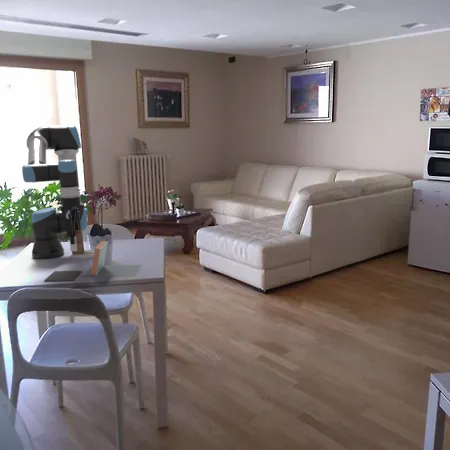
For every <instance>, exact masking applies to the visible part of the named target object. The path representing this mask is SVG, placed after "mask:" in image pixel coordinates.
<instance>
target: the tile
mask: <svg viewBox="0 0 450 450" xmlns="http://www.w3.org/2000/svg"><path fill="white" fill-rule="evenodd" d="M108 243H109V241H106V240H101V242H99V243H98V245H97V246H95V248H94V249H93V250H94V257H93V258H92V264H91V268H92V270H91V275H96V276H97V275H98V273H99V272H100V271H101V270H102V268H103V267H104V266H105V263H106V262H105V261H106V256H107V249H108Z"/></svg>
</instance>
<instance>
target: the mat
mask: <svg viewBox="0 0 450 450" xmlns="http://www.w3.org/2000/svg"><path fill="white" fill-rule="evenodd" d="M141 266H142V264H131V265H130V264H128V265H127V264H126V265H125V264H124V265H122V264H121V265H104V267H103V268H102V270H101V271H100V272H99V273H98V275H97V276H96V275H91V270H92V267H91V268H90V269H89V270H88V271H87V273H85V275H84V276H83V278H100V277H101V278H104V277H109V278H111V277H135V276H136V275H137V273H138V272H139V270H140V268H141Z"/></svg>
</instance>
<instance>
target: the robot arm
mask: <svg viewBox="0 0 450 450" xmlns="http://www.w3.org/2000/svg"><path fill="white" fill-rule="evenodd" d="M26 147H27V150H28V154H27V155H28V156H27V157H28V160H27V161H28V162H27V164H25V165H23V166H22V167H21V169H22V170H21V172H22V178H23V182H25V183H40V182H41V183H43V182H57V181H58V182H59V188H60V197H61V205H60V209H59V210H57V208H55V207H45V208H42V209H38V210H35V211H33V212H32V214H31V226H32V232H33V233H32V235H33V247H32V249H31V256H32V258H33V259H37V260H48V259H54V258H58V257H61V256H63V255H64V254H65V249H64V247H63V245H62V242H61V240H60V235H59V234H66V237H67V238H69V247H70V252H72V251H78V250H77V240H76V236H75V230H82V232H84V231H86V230H87V228H88V208H87V207H85V204H84V203H82V200H81V188H80V183H79V172H78V163H77V154H78V153H79V149H81V148H82V144H81V140H80V135H79V131H78V128H77V127H76V125H69V124H68V125H67V124H64V125H63V124H62V125H44V126H40V127H38V128H35V129H34V130H33V131H31V132H30V134H29V135H28V136H27V138H26ZM47 150H48V151H49V150H54V154H55V155H57V159H58V161H57V163H47Z"/></svg>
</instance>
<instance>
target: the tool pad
mask: <svg viewBox="0 0 450 450" xmlns="http://www.w3.org/2000/svg"><path fill="white" fill-rule="evenodd" d="M81 273H82V270H54V271H53V272H51V274H50V275H48V276H47V277H46V278H45V279H43V281H44V282H45V283H47V282H49V283H50V282H73V281H75V280H76V279H77V278H78V276H80V274H81Z"/></svg>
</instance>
